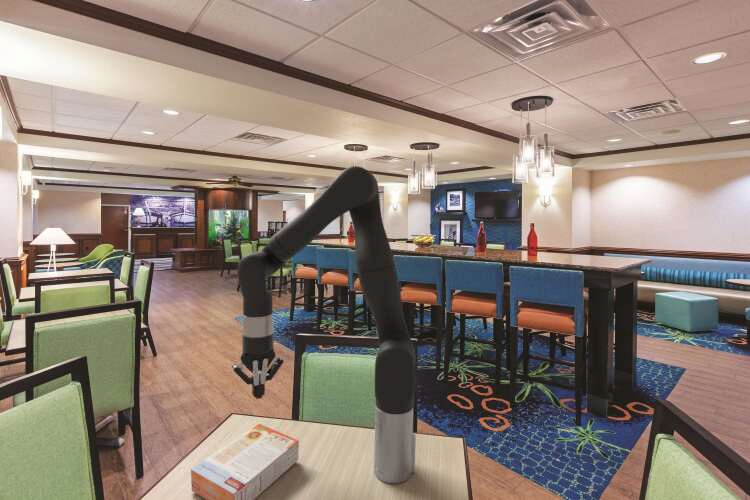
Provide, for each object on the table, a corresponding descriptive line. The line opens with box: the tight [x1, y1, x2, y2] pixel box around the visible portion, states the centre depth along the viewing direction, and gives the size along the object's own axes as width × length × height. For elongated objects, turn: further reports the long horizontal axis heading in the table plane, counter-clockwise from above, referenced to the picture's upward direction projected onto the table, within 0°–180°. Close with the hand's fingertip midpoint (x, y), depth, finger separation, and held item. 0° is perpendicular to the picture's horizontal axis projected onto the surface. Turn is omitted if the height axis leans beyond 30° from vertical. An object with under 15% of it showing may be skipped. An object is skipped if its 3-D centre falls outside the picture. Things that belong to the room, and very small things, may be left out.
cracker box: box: [190, 423, 300, 500], centre depth 92 cm, size 14×6×21 cm
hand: (258, 397), depth 99 cm, fingers closed
